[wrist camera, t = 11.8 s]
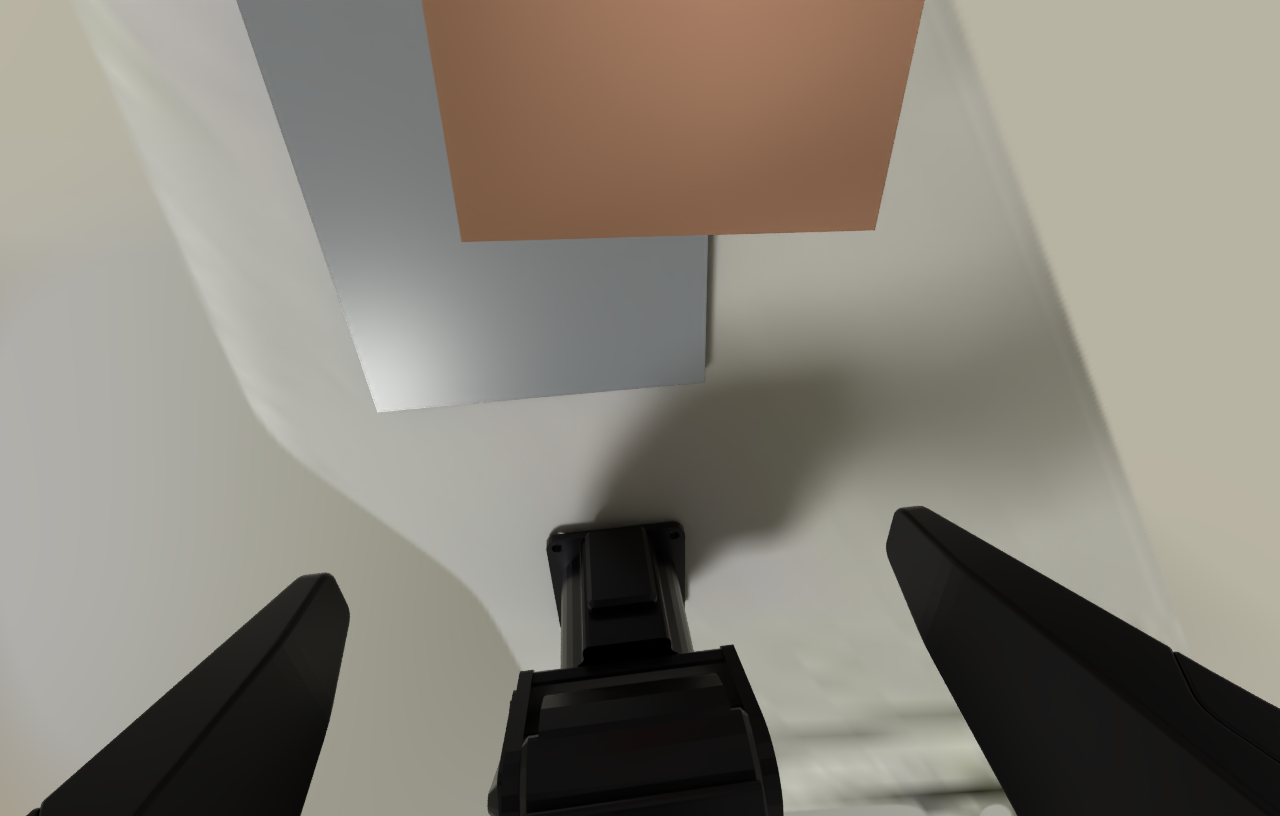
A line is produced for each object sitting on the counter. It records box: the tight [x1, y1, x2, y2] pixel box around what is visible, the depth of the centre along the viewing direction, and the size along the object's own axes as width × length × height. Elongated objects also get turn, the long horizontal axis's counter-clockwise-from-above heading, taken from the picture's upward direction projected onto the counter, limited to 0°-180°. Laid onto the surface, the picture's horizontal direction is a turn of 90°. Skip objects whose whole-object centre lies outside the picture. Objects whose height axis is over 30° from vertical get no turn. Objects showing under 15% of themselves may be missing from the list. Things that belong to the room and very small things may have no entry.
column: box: [422, 0, 925, 242], centre depth 10 cm, size 5×5×12 cm
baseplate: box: [237, 0, 708, 412], centre depth 18 cm, size 15×12×1 cm
